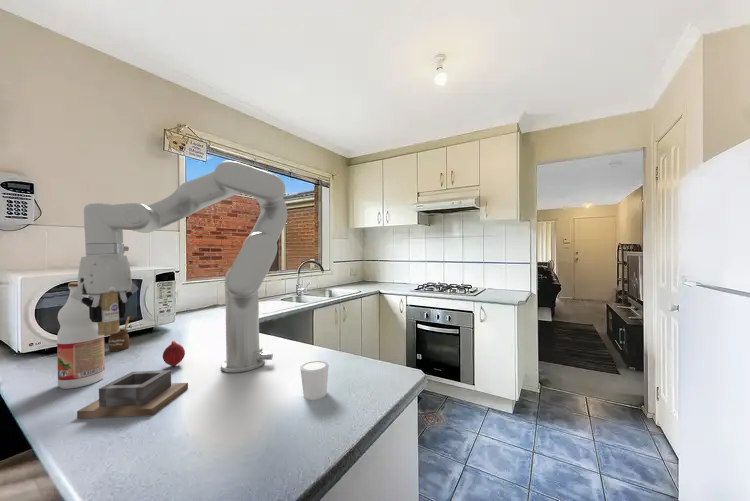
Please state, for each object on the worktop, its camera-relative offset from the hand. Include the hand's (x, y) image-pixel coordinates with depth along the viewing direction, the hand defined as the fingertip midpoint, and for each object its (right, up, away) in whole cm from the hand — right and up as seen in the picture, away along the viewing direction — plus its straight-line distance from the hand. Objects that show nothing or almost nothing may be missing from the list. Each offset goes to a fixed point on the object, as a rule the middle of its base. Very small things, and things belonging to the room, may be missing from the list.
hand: (108, 318), depth 80 cm
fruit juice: (-11, -19, +4) cm, 22 cm away
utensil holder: (-26, -19, +34) cm, 47 cm away
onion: (+8, -19, +15) cm, 25 cm away
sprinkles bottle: (0, -4, 0) cm, 4 cm away
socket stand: (+14, -18, -8) cm, 24 cm away
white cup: (+56, -17, -6) cm, 59 cm away
